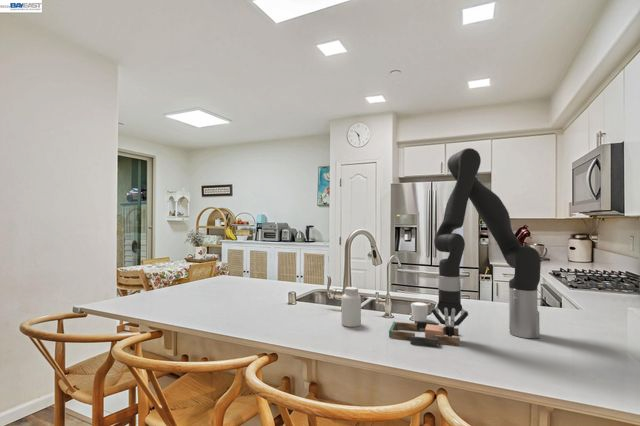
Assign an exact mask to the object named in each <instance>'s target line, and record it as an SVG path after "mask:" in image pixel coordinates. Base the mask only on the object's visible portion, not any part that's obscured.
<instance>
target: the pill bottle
mask: <svg viewBox="0 0 640 426" xmlns="http://www.w3.org/2000/svg"><path fill="white" fill-rule="evenodd" d="M358 292H359V288H358V287H355V286H346V287H345V288H344V294H343V295H341V324H342V326H344V327H347V328H348V327H349V328H357V327H360V326H361V324H362V323H361V322H362V298H361V295H360V294H359V293H358Z"/></svg>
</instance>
